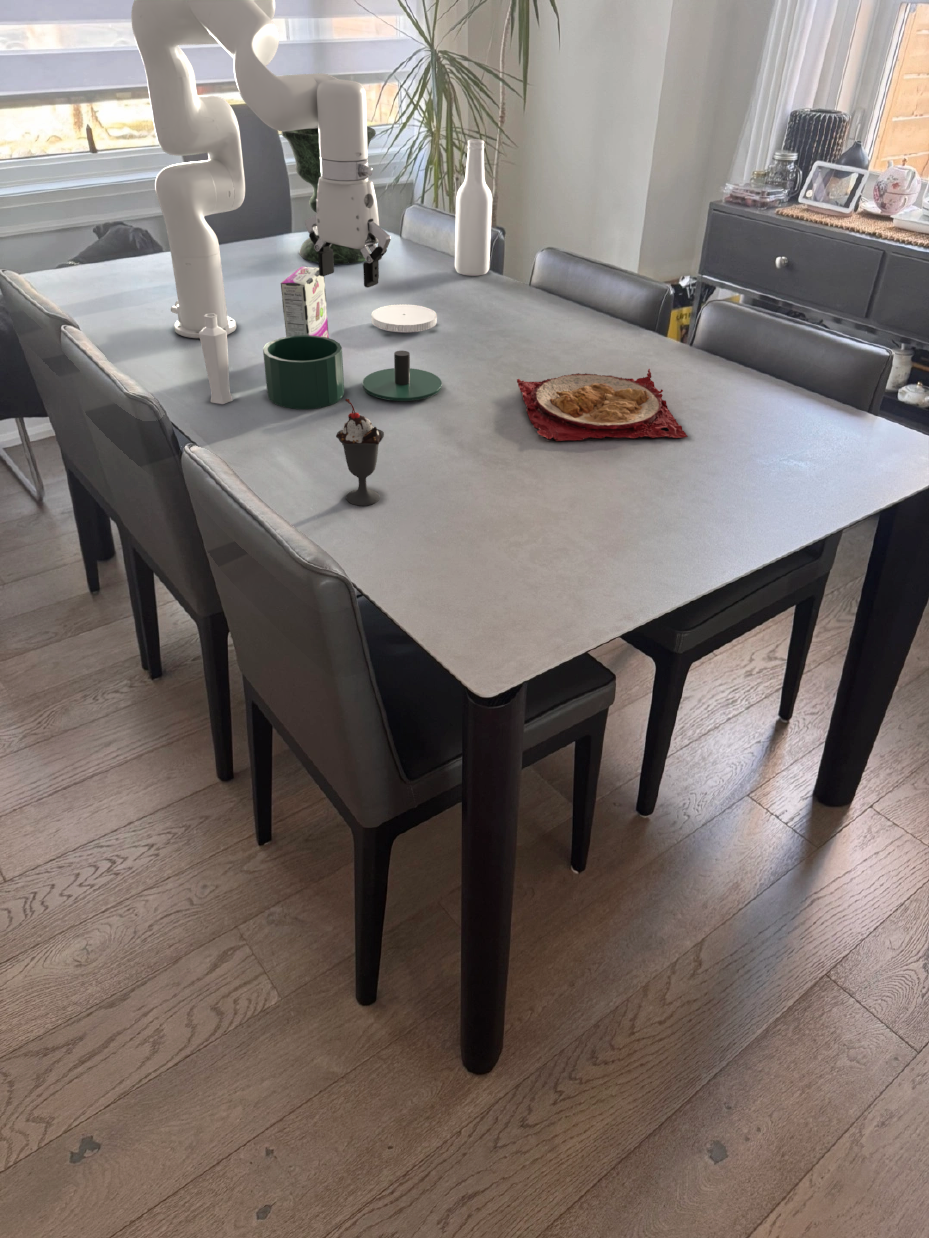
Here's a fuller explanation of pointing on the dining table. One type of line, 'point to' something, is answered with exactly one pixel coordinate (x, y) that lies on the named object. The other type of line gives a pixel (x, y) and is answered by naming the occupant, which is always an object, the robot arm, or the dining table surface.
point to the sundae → (360, 454)
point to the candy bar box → (305, 303)
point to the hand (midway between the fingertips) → (348, 280)
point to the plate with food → (598, 407)
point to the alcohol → (473, 216)
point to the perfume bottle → (216, 359)
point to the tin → (304, 371)
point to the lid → (402, 381)
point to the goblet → (310, 171)
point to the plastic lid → (404, 318)
